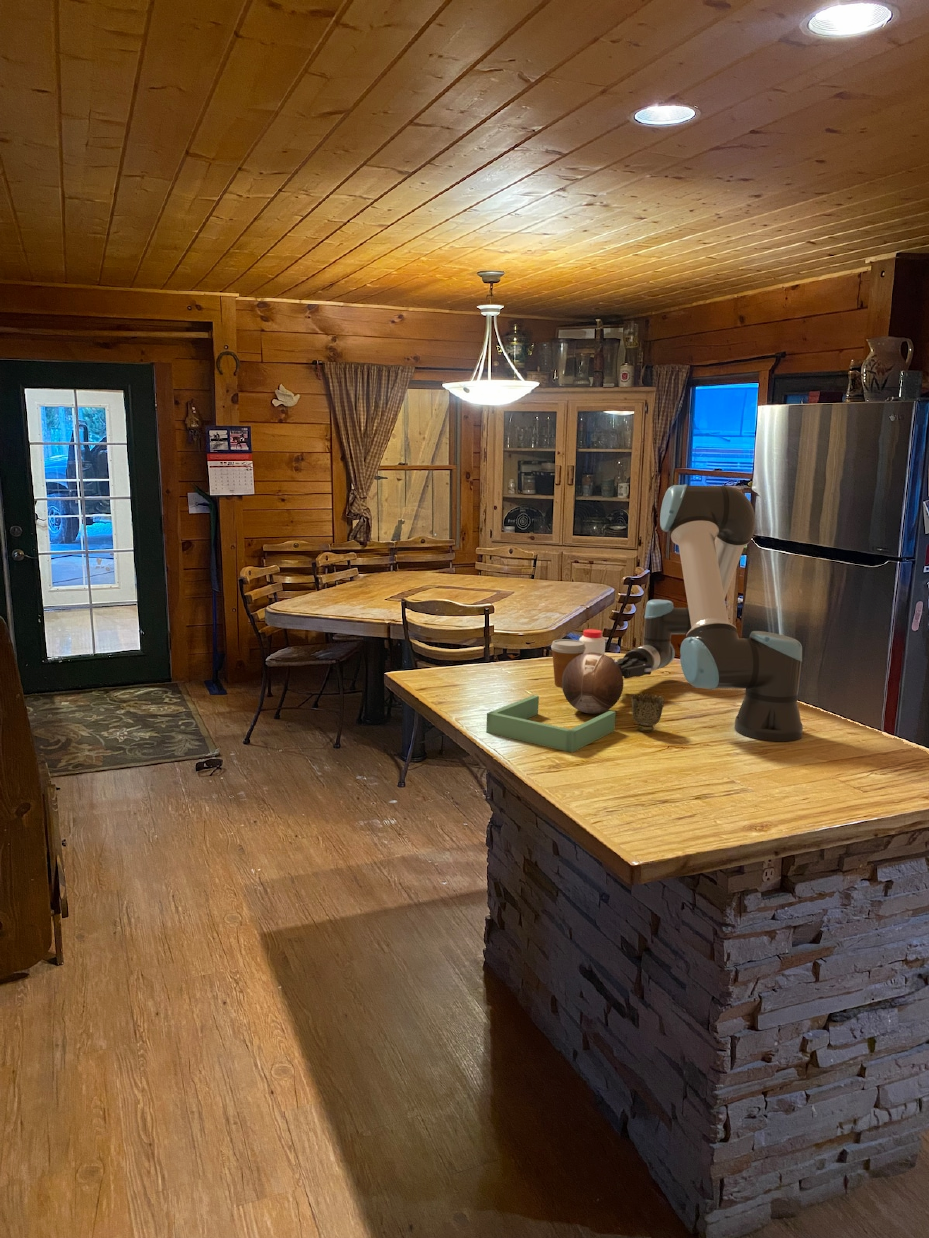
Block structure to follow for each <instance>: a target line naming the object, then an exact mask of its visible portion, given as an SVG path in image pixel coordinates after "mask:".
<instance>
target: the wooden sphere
mask: <svg viewBox="0 0 929 1238" xmlns="http://www.w3.org/2000/svg"><path fill="white" fill-rule="evenodd" d="M611 658H612V657H611ZM611 658H609V656H608V655H606V654H604V655H603V654H600V653H593V652H591V653H584V654H581V655H579V656H577V657H575V658H574V659H573V660H572V661H571V662H570V663H569V664H568V665H567V667H566V668H565V670H564V673H563V676H562V687H561V689H562V692H563V696H564V698H565V699H566V701H567V702H568V703H569V704H570V706H572V707H573V708H574V709H576V710H577V711H579V712H582V713H585V714H589V715H592V714H593V715H594V714H603V713H605V712H608V711H610V709H612V708H613V707H615V706H616V704H617V703H618V702H619V700H620V698H621V696H622V694H623V690H624V676H622V673H621V670H620V668H619V667H618V665H617V664H616V663H615V662H614V661H613V660H612V659H611Z"/></svg>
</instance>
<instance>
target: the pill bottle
mask: <svg viewBox="0 0 929 1238" xmlns="http://www.w3.org/2000/svg"><path fill="white" fill-rule="evenodd" d="M582 631H583V635H581V636H580V637H579V639H578V641H581V642H584V645H585V647H586V649H585V651H584V653H591V652H593V653H600V654H603V655H606V654H605V652H606V639H605V638H604V637H603V631H602V630H599V629H591V628H587V629H584V630H582Z"/></svg>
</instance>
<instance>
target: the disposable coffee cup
mask: <svg viewBox="0 0 929 1238" xmlns="http://www.w3.org/2000/svg"><path fill="white" fill-rule="evenodd" d="M550 647H551V650H552V663H553V677H554V685H555V686H556V687H558V688H559V687H560V688H562V676H563V673H564V670H565V668H566V667H567V665H568V664H569V663H570V662H571V661H572V660H573V659H574V658H575V657H577V656H579V655H581V654H584V651H585V649H586V647H585V645H584V642H581V641H579V639H577V640H576V639H563V638H561V639H556V640H555V639H554V640H553V641H552V643H551V645H550Z"/></svg>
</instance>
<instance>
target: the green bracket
mask: <svg viewBox="0 0 929 1238" xmlns="http://www.w3.org/2000/svg"><path fill="white" fill-rule="evenodd" d="M539 697H540V696H539V695H530V696H527V697H524V698H523V699H520V700H517V701H515V702H513V703H510V704H507V705H504V706H502V707H499V708H496V709H493V710H492V711H489V712H487V713H486V731H485V732H486V734H487V733H488V734H492V735H496V736H501V737H505V738H508V739H509V738H510V739H513V740H517V741H521V742H526V743H530V744H534V745H538V746H541V747H542V746H544V747H547V748H551V749H555V750H559V751H562V752H563V751H564V752H568V753H574V752H576V751H578V750H580V749H582V748H584V747H586V746H588V745H590V744H592V743H593V742H595V741H597V740H599V739H601V738H603V737H605V736H607V735H609V734H611V733H613V732H614V731H615V728H616V713H617V711H612V710H607V711H605V712H603V713H601V714H599V715H597V716H596V717H593V718H591V719H589V720H587V721H585V722H583V723H580V724H579V725H576V726H574V727H572V728H571V729H570V728H565V727H562V726H556V725H552V724H548V723H543V722H539V721H535V720H534V721H533V720H530V718H532V717H534V716H537V715H539V701H540V700H539V699H540V698H539Z"/></svg>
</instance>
